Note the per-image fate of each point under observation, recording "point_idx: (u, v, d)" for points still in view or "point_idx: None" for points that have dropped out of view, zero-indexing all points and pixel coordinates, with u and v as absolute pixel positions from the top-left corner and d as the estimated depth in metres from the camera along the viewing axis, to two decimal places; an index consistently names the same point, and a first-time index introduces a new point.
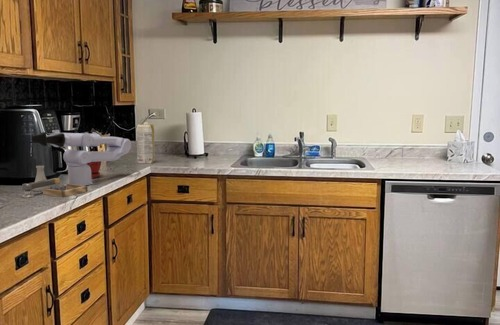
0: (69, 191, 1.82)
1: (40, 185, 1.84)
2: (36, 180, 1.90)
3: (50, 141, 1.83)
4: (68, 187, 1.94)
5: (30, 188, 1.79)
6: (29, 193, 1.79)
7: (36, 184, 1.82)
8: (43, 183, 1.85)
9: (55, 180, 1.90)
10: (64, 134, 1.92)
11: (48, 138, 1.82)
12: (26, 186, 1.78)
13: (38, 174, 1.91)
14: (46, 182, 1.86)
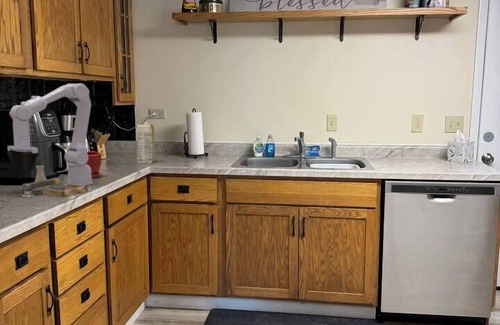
0: (69, 191, 1.82)
1: (40, 185, 1.84)
2: (36, 180, 1.90)
3: (32, 166, 1.83)
4: (68, 187, 1.94)
5: (30, 188, 1.79)
6: (29, 193, 1.79)
7: (36, 184, 1.82)
8: (43, 183, 1.85)
9: (55, 180, 1.90)
10: (20, 142, 1.80)
11: (29, 169, 1.82)
12: (26, 186, 1.78)
13: (38, 174, 1.91)
14: (46, 182, 1.86)
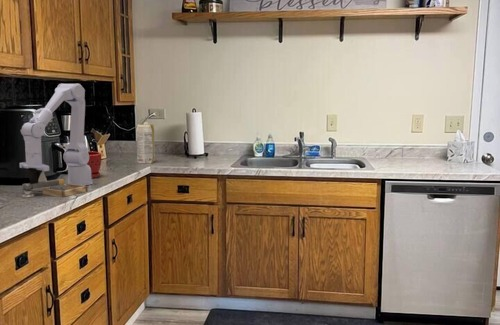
0: (69, 191, 1.82)
1: (41, 185, 1.83)
2: None
3: None
4: (68, 187, 1.94)
5: (29, 188, 1.78)
6: (29, 193, 1.79)
7: (37, 184, 1.82)
8: (45, 184, 1.84)
9: (59, 181, 1.89)
10: (32, 160, 1.79)
11: None
12: (25, 186, 1.78)
13: None
14: (48, 183, 1.85)
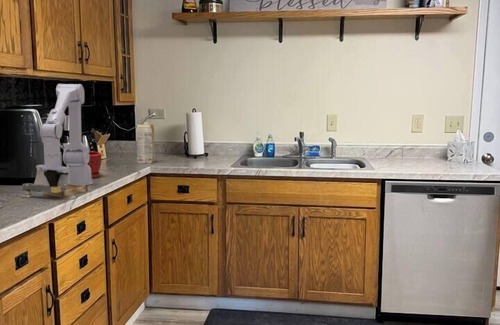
0: (69, 191, 1.82)
1: (36, 188, 1.77)
2: (36, 180, 1.90)
3: (55, 185, 1.79)
4: (68, 187, 1.94)
5: (23, 188, 1.78)
6: (29, 193, 1.79)
7: (32, 186, 1.78)
8: (39, 187, 1.77)
9: (51, 188, 1.75)
10: (51, 162, 1.75)
11: None
12: None
13: (38, 174, 1.91)
14: (42, 187, 1.76)
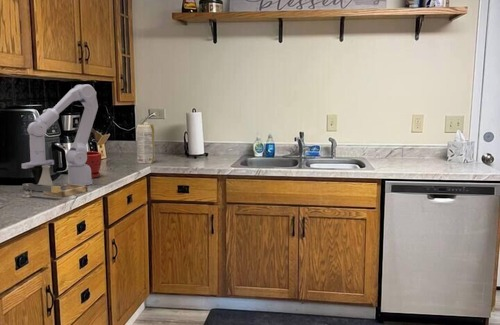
0: (69, 191, 1.82)
1: (36, 188, 1.77)
2: (41, 180, 1.89)
3: (38, 180, 1.92)
4: (68, 187, 1.94)
5: (23, 188, 1.78)
6: (29, 193, 1.79)
7: (32, 186, 1.78)
8: (39, 187, 1.77)
9: (51, 188, 1.75)
10: None
11: (36, 182, 1.92)
12: None
13: (43, 174, 1.89)
14: (42, 187, 1.76)
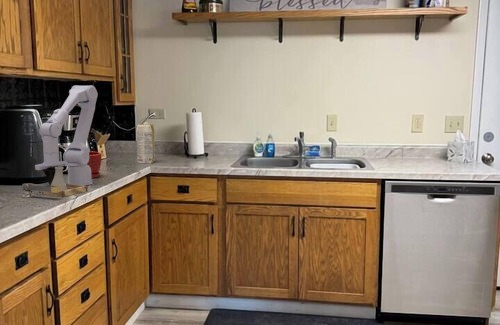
0: (69, 191, 1.82)
1: (36, 188, 1.77)
2: (53, 181, 1.86)
3: (51, 181, 1.89)
4: (68, 187, 1.94)
5: (23, 188, 1.78)
6: (29, 193, 1.79)
7: (32, 186, 1.78)
8: (39, 187, 1.77)
9: (51, 188, 1.75)
10: None
11: (49, 183, 1.89)
12: None
13: (56, 175, 1.86)
14: (42, 187, 1.76)
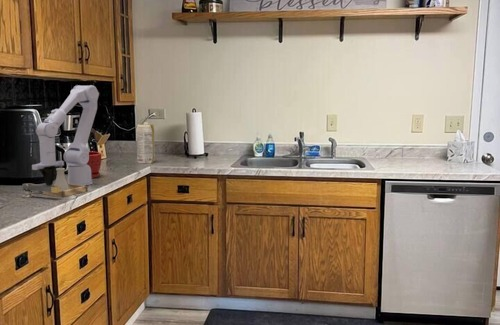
0: (69, 191, 1.82)
1: (36, 188, 1.77)
2: (56, 183, 1.85)
3: (48, 181, 1.89)
4: None
5: (23, 188, 1.78)
6: (29, 193, 1.79)
7: (32, 186, 1.78)
8: (39, 187, 1.77)
9: (51, 188, 1.75)
10: (40, 158, 1.88)
11: (46, 183, 1.90)
12: None
13: (58, 177, 1.85)
14: (42, 187, 1.76)
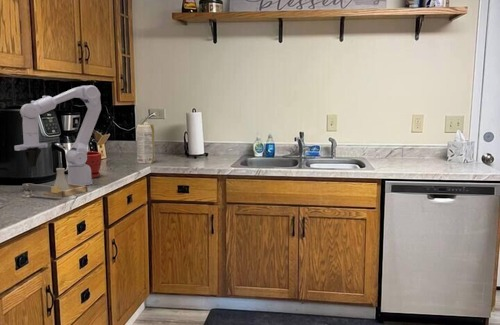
0: (69, 191, 1.82)
1: (36, 188, 1.77)
2: (56, 183, 1.85)
3: (31, 162, 1.89)
4: None
5: (23, 188, 1.78)
6: (29, 193, 1.79)
7: (32, 186, 1.78)
8: (39, 187, 1.77)
9: (51, 188, 1.75)
10: None
11: (30, 164, 1.90)
12: None
13: (58, 177, 1.85)
14: (42, 187, 1.76)
